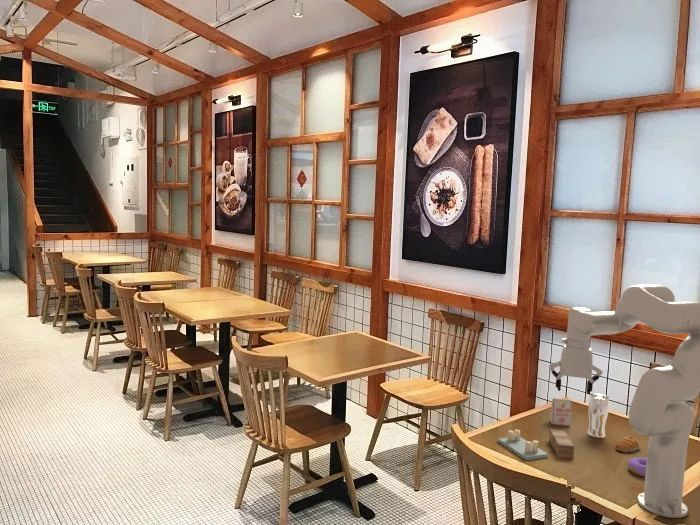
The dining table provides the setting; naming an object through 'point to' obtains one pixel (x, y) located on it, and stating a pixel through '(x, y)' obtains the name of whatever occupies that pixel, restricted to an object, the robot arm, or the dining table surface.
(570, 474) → the dining table surface
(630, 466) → the donut
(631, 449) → the pastry
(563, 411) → the white printed box
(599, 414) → the beer glass
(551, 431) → the plank
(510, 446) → the peg board
